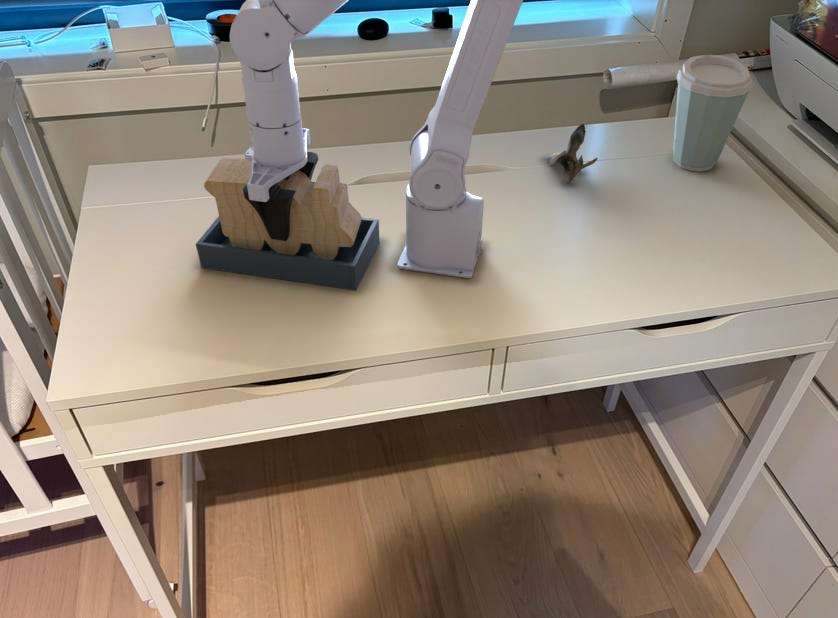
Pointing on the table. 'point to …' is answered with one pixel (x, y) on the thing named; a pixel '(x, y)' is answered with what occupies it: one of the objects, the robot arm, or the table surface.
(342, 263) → the open box
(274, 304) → the table surface
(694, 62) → the disposable coffee cup
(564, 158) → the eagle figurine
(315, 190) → the toy train
